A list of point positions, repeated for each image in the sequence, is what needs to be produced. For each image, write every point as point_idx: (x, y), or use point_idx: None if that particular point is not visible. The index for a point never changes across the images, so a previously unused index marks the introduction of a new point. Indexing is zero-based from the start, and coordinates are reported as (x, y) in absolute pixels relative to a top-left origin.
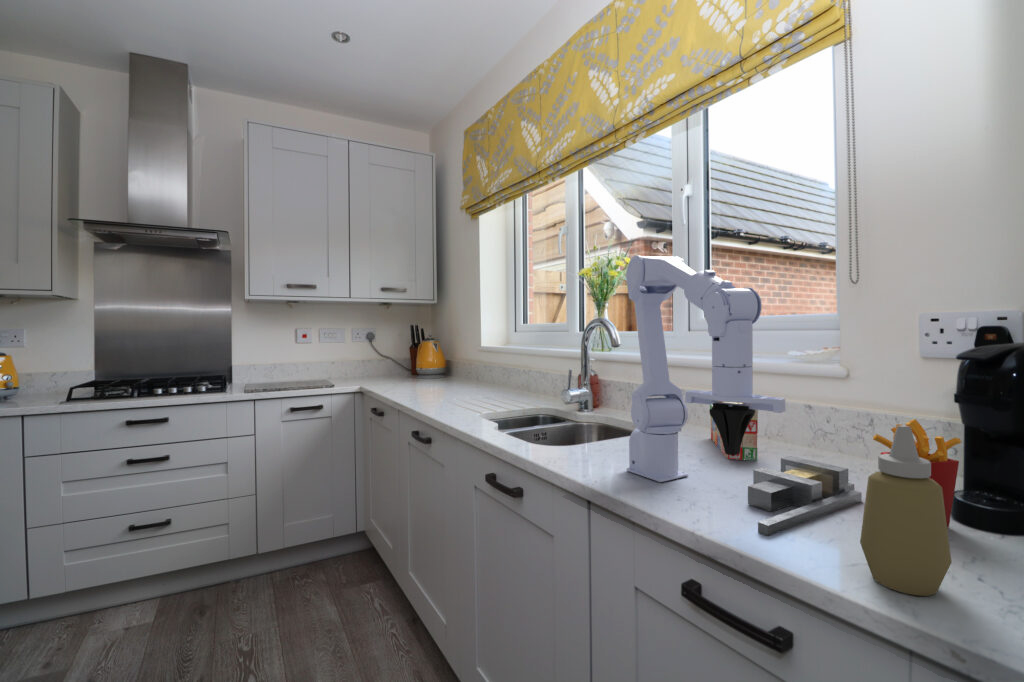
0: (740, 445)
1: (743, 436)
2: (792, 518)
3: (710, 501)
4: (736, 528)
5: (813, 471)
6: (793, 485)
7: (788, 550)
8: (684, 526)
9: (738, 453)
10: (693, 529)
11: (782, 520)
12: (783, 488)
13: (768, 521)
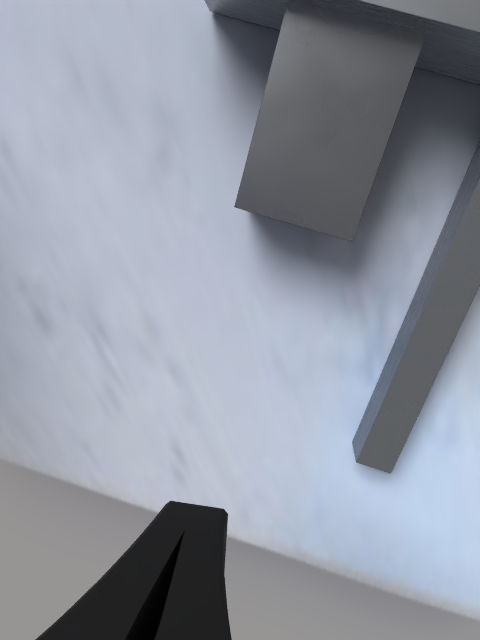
0: (223, 555)
1: (227, 611)
2: (448, 346)
3: (127, 264)
4: (290, 447)
5: None
6: (431, 33)
7: (452, 510)
8: None
9: (226, 527)
10: None
11: (423, 403)
12: (387, 117)
13: (384, 439)
